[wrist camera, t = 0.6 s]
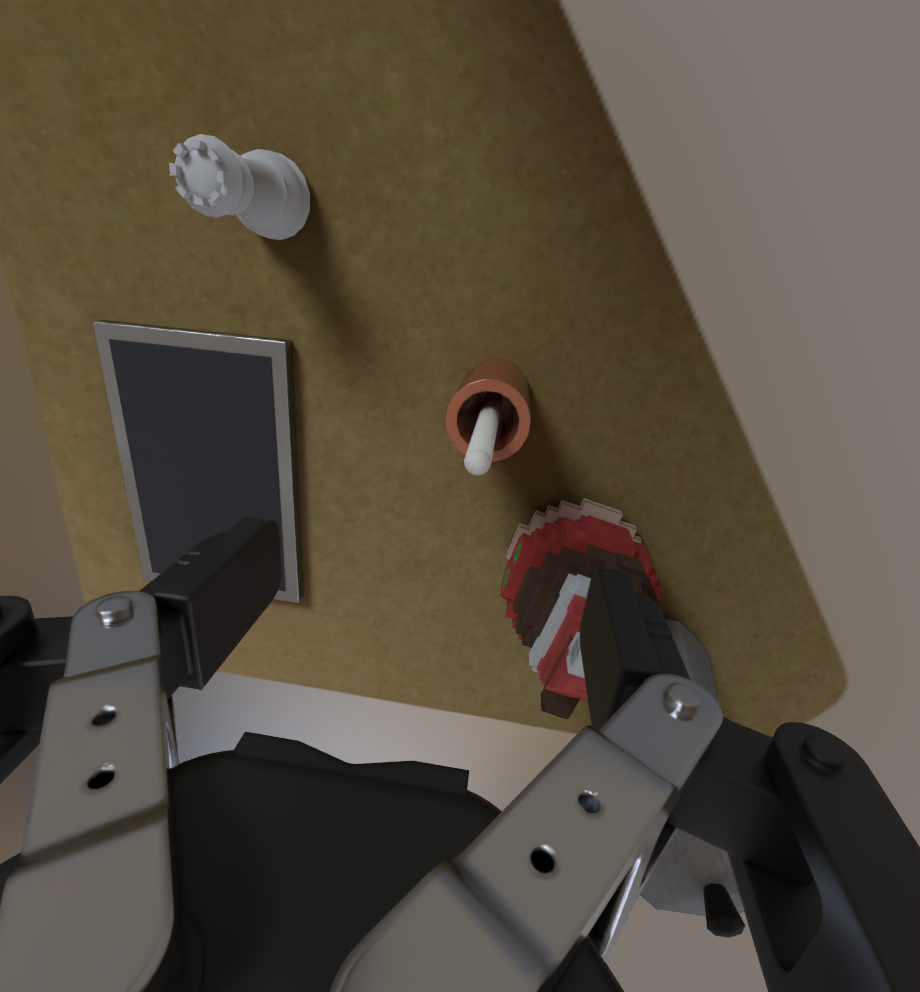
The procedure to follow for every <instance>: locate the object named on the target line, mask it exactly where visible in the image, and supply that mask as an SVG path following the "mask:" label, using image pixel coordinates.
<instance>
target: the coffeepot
mask: <svg viewBox="0 0 920 992" xmlns="http://www.w3.org/2000/svg"><path fill="white" fill-rule="evenodd" d="M665 619H666V621H667V627H669V629H670V631H671V634H672V636H673V637H672V639H673V640H674V641H675V643H676V646H677V648H678V651H679V653H680V655H681V658H682V660H683V663H684V665H685V668H686V670H687V672H688V675H689V677H690V680H691V681H693V682H695V683H697V684H698V685H700V686H702V687H703V688H704V689H706V690H707V691H708V692H709V693H710V694H711V695H712V696H713V697H714V698H715V699H716V700H717V702H718V703H719V701H718V696H717V691H716V687H715V682H714V678H713V673H712V668H711V664H710V659H709V654H708V651H707V650H706V648H705V647H704V646H703V645H702V644H701V643H700V642H699V641H698V640H697V638H696V637H695V636H694V635H693V634H692V633H691V632H690V631H689V630H688V629H687V628H686V627H685V626H684V625H683V624H682V623H681V622H680V621H678V620H672V619H667V618H665ZM640 896H642V897H643V898H644V899H645V900H646V901H647V902H649V903H650V904H651V905H652V906H654V908H656V909H659V910H667V911H674V912H681V913H689V914H696V915H704V916H706V921H707V929H708V930H710V931H711V932H712V933H713V934H714V935H715V936H722V937H733V936H736V935H739V934H742V932H743V929H744V927H745V924H744V922H743V920H742V918H741V917H740V915H739V913H742V912H745V911H744V908H743V904H742V901H741V897H740V894H739V891H738V887H737V884H736V880H735V877H734V874H733V870H732V867H731V863H730V860H729V857H728V853H727V852H726V851H724V850H722V849H720V848H718V847H715V846H713V845H711V844H709V843H707V842H705V841H703V840H701V839H699V838H697V837H695V836H693V835H691V834H688V833H686V832H684V831H682V830H680V829H678V831H677V832H676V834H675V836H674V837H673V839H672V841H671V842H670V844H669V846H668V848H667V849H666V851H665V853H664V854H663V856H662V858H661V859H660V861H659V863H658V865H657V866H656V868H655V870H654V871H653V873H652V875H651V876H650V878H649V880H648V881H647V883H646V885H645V887H644V888H643V890H642V892H641V893H640Z"/></svg>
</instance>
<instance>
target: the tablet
mask: <svg viewBox="0 0 920 992" xmlns="http://www.w3.org/2000/svg"><path fill="white" fill-rule="evenodd" d="M93 326H94V331H95V336H96V341H97V346H98V351H99V356H100V361H101V366H102V371H103V376H104V381H105V386H106V392H107V397H108V402H109V407H110V412H111V417H112V422H113V427H114V432H115V437H116V442H117V447H118V452H119V457H120V463H121V468H122V473H123V478H124V483H125V488H126V493H127V498H128V503H129V508H130V513H131V518H132V523H133V528H134V534H135V539H136V544H137V549H138V554H139V559H140V564H141V569H142V574H143V579H144V580H145V581H152V580H154V579H155V578H156V577H157V576H159V575H160V574H161V573H162V572H163V571H165V570H166V569H167V568H168V567H170V566H171V565H172V564H173V563H176V562H177V560H178V559H180V558H181V557H182V556H183V555H185V554H188V551H190V550H191V549H192V548H193V547H194V546H196V545H197V544H198V543H199V542H201V541H202V540H204V539H207V538H209V537H211V536H214V535H216V534H218V533H221V532H224V533H225V532H227V531H228V530H229V529H230V528H231V527H233V526H234V525H235V524H236V523H237V522H238V521H240V520H241V519H242V518H244V517H254V518H261V519H268V520H274V521H276V522H277V524H278V526H279V535H280V554H281V582H280V586H279V589H278V592H277V594H276V596H275V597H274V599H275V600H282V601H289V602H295V603H299V602H300V600H301V599H302V597H303V578H302V556H301V535H300V514H299V492H298V471H297V449H296V428H295V407H294V385H293V364H292V343H291V340H284V339H274V338H265V337H256V336H246V335H237V334H228V333H218V332H209V331H200V330H190V329H181V328H172V327H162V326H153V325H144V324H135V323H125V322H116V321H107V320H101V321H93Z"/></svg>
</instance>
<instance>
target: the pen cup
mask: <svg viewBox="0 0 920 992" xmlns="http://www.w3.org/2000/svg"><path fill="white" fill-rule="evenodd" d="M488 391H489V392H498V393H500V394H501V395H503V401H502V406H501V411H500V417H499V422H498V428H497V433H496V439H495V444H494V450H493V455H492V461H491V462H496V461H500V460H504V459H507V458H509V457H510V456H512V455H513V454H514V453H516V452H517V451H518V450H520V448H521V447H522V445H523V444H524V442H525V440H526V439H527V437H528V435H529V430H530V423H531V407H530V391H529V385H528V382H527V379H526V377H525V376H524V374H523V373H522V371H521V370H520V369H519V368H518V367H516V366H515V365H514V364H512V363H510V362H508V361H505V360H500V359H491V360H486V361H483V362H481V363H479V364H477V365H476V366H474V367H473V368H472V369H471V370H470V371H469V372H468V373H467V374H466V376H465V378H464V379H463V381H462V383H461V384H460V386H459V388H458V389H457V391H456V393H455V395H454V396H453V398H452V400H451V402H450V404H449V406H448V408H447V413H446V428H447V431H448V434H449V437H450V440H451V442H452V443H453V444H454V445H455V446H456V448H457V449H458V450H459V451H460V452H462V454H464V455H466V453H467V450H468V447H469V444H470V441H471V438H472V435H473V432H474V429H475V426H476V423H477V420H478V417H479V414H480V411H481V408H482V405H483V402H484V399H485V396H486V393H487V392H488Z"/></svg>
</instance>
